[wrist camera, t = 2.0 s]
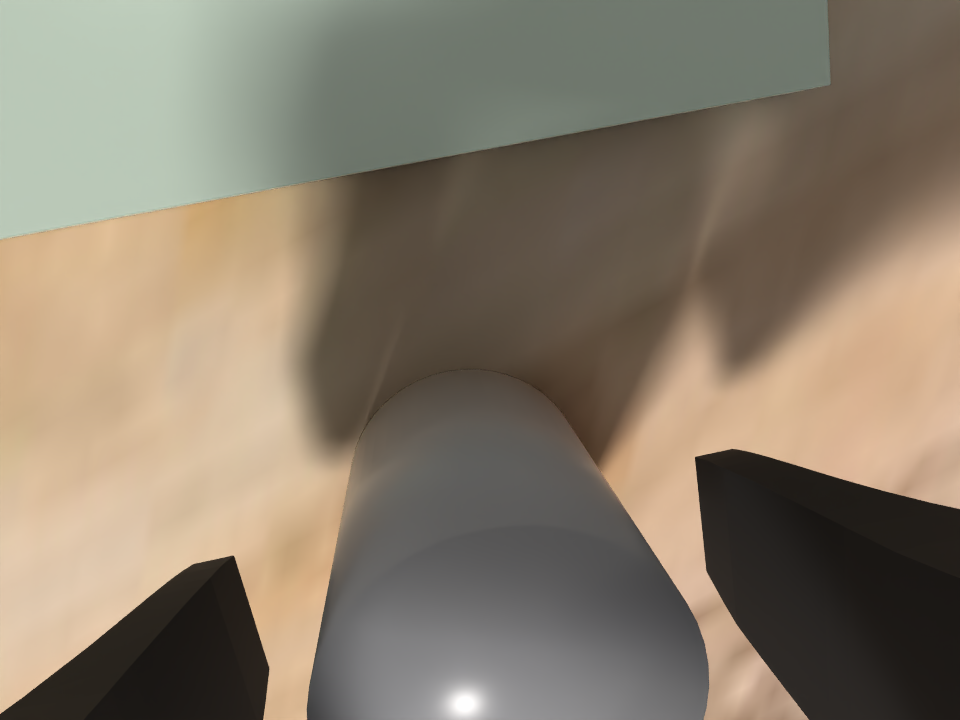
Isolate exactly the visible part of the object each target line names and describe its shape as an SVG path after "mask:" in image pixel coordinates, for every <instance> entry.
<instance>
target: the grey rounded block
mask: <svg viewBox="0 0 960 720" xmlns="http://www.w3.org/2000/svg"><path fill="white" fill-rule="evenodd" d="M708 691H709V668H708V659H707V654H706V649H705V643H704V640H703V637H702V635H701V632H700V629H699V626H698V623H697V621H696V619H695V617H694V616H693V614H692V612H691V610H690V608H689V606H688V605H687V603H686V601H685V600H684V598H683V597H682V595H681V594H680V592H679V590H678V589H677V587H676V586H675V584H674V583H673V581H672V580H671V578H670V577H669V575H668V574H667V572H666V571H665V569H664V568H663V566H662V565H661V563H660V561H659V560H658V558H657V557H656V555H655V554H654V552H653V551H652V549H651V548H650V546H649V545H648V543H647V542H646V540H645V539H644V537H643V536H642V534H641V533H640V531H639V529H638V528H637V526H636V525H635V523H634V522H633V520H632V519H631V517H630V516H629V514H628V513H627V511H626V510H625V508H624V507H623V505H622V504H621V502H620V501H619V499H618V497H617V496H616V494H615V493H614V491H613V490H612V488H611V487H610V485H609V484H608V482H607V481H606V479H605V478H604V476H603V475H602V473H601V472H600V470H599V468H598V467H597V465H596V464H595V462H594V461H593V459H592V458H591V456H590V455H589V453H588V452H587V450H586V449H585V447H584V446H583V444H582V443H581V441H580V440H579V438H578V436H577V435H576V433H575V432H574V430H573V429H572V427H571V426H570V424H569V423H568V421H567V420H566V418H565V417H564V416H563V414H562V413H561V412H560V410H559V409H558V408H557V406H556V405H555V404H554V403H553V402H552V401H551V400H550V399H549V398H548V397H547V396H545V395H544V394H543V393H541V392H540V391H539V390H537V389H536V388H534V387H533V386H531V385H529V384H527V383H525V382H524V381H522V380H519V379H517V378H514V377H512V376H509V375H506V374H502V373H498V372H494V371H487V370H479V369H461V370H454V371H447V372H443V373H439V374H435V375H431V376H429V377H426V378H424V379H421V380H419V381H416V382H414V383H413V384H411V385H409V386H407V387H406V388H404V389H402V390H401V391H399V392H398V393H397V394H395V395H394V396H393V397H391V398H390V399H389V400H388V401H387V402H386V403H385V404H384V405H383V406H382V407H381V408H380V409H379V410H378V411H377V412H376V413H375V415H374V416H373V417H372V418H371V420H370V421H369V422H368V424H367V426H366V428H365V429H364V431H363V433H362V434H361V437H360V439H359V442H358V444H357V446H356V449H355V453H354V457H353V461H352V465H351V470H350V476H349V481H348V486H347V491H346V497H345V502H344V507H343V512H342V518H341V523H340V528H339V533H338V538H337V544H336V549H335V554H334V559H333V565H332V570H331V575H330V580H329V586H328V591H327V596H326V601H325V607H324V612H323V617H322V622H321V628H320V633H319V638H318V643H317V649H316V654H315V659H314V664H313V670H312V675H311V680H310V685H309V694H308V703H307V720H703V719H704V715H705V711H706V707H707V699H708Z"/></svg>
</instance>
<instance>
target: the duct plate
mask: <svg viewBox="0 0 960 720" xmlns="http://www.w3.org/2000/svg"><path fill="white" fill-rule="evenodd" d="M828 85H831V81H830V55H829V29H828V2H827V0H0V240H2V239H7V238H13V237H18V236H24V235H29V234H34V233H40V232H45V231H51V230H56V229H61V228H67V227H72V226H77V225H83V224H88V223H94V222H99V221H104V220H110V219H115V218H121V217H126V216H131V215H137V214H142V213H148V212H153V211H158V210H164V209H169V208H175V207H180V206H185V205H191V204H196V203H202V202H207V201H212V200H218V199H223V198H228V197H234V196H239V195H245V194H250V193H255V192H261V191H266V190H272V189H277V188H282V187H288V186H293V185H299V184H304V183H309V182H315V181H320V180H326V179H331V178H336V177H342V176H347V175H353V174H358V173H363V172H369V171H374V170H379V169H385V168H390V167H396V166H401V165H406V164H412V163H417V162H423V161H428V160H433V159H439V158H444V157H450V156H455V155H460V154H466V153H471V152H477V151H482V150H487V149H493V148H498V147H504V146H509V145H514V144H520V143H525V142H530V141H536V140H541V139H547V138H552V137H557V136H563V135H568V134H574V133H579V132H584V131H590V130H595V129H601V128H606V127H611V126H617V125H622V124H628V123H633V122H638V121H644V120H649V119H655V118H660V117H665V116H671V115H676V114H681V113H687V112H692V111H698V110H703V109H708V108H714V107H719V106H725V105H730V104H735V103H741V102H746V101H752V100H757V99H762V98H768V97H773V96H779V95H784V94H789V93H795V92H800V91H804V90H809V89H814V88H818V87H823V86H828Z"/></svg>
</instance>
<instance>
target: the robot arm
mask: <svg viewBox="0 0 960 720" xmlns="http://www.w3.org/2000/svg"><path fill="white" fill-rule="evenodd" d="M695 462H696V472H697V482H698V492H699V502H700V512H701V521H702V531H703V541H704V551H705V561H706V570H707V573H708V575H709V576H710V578H711V580H712V582H713V584H714V586H715V587H716V589H717V591H718V593H719V595H720V596H721V598H722V600H723V602H724V604H725V605H726V607H727V609H728V610H729V612H730V614H731V615H732V617H733V619H734V621H735V622H736V624H737V625H738V627H739V628H740V630H741V631H742V632H743V634H744V635H745V636H746V638H747V639H748V640H749V642H750V643H751V644H752V646H753V647H754V648H755V650H756V651H757V652H758V654H759V655H760V656H761V658H762V659H763V660H764V662H765V663H766V664H767V665H768V667H769V668H770V669H771V671H772V672H773V673H774V675H775V676H776V677H777V678H778V680H779V681H780V682H781V684H782V685H783V686H784V688H785V689H786V690H787V691H788V693H789V694H790V695H791V697H792V698H793V699H794V701H795V702H796V703H797V704H798V706H799V707H800V708H801V710H802V711H803V712H804V714H805V715H806V716H807V717H808V719H809V720H960V509H957V508H952V507H947V506H943V505H938V504H933V503H929V502H925V501H921V500H917V499H913V498H909V497H905V496H901V495H897V494H893V493H889V492H885V491H881V490H878V489H874V488H871V487H867V486H863V485H860V484H856V483H853V482H849V481H846V480H842V479H839V478H836V477H832V476H829V475H826V474H822V473H819V472H816V471H813V470H809V469H806V468H803V467H799V466H796V465H793V464H790V463H786V462H783V461H780V460H776V459H773V458H769V457H766V456H762V455H759V454H755V453H751V452H747V451H742V450H736V449H730V450H726V451H721V452H716V453H712V454H707V455H702V456H698V457H695ZM268 676H269V666H268V663H267V660H266V656H265V653H264V650H263V647H262V644H261V640H260V637H259V634H258V631H257V628H256V624H255V621H254V618H253V615H252V612H251V608H250V605H249V602H248V599H247V596H246V592H245V589H244V586H243V583H242V580H241V576H240V573H239V570H238V567H237V564H236V560H235V557H234V556H229V557H225V558H220V559H215V560H211V561H206V562H201V563H197V564H193V565H191V566H190V567H188V568H187V569H185V570H183V571H182V572H181V573H179V574H178V575H176V576H175V577H174V578H172V579H171V580H170V581H169V582H167V583H166V584H165V585H163V586H162V587H161V588H160V589H158V590H157V591H156V592H155V593H153V594H152V595H151V596H150V597H149V598H147V599H146V600H145V601H144V602H142V603H141V604H140V605H139V606H138V607H136V608H135V609H134V610H133V611H132V612H130V613H129V614H128V615H127V616H125V617H124V618H123V619H122V620H121V621H119V622H118V623H117V624H116V625H115V626H113V627H112V628H111V629H110V630H108V631H107V632H106V633H105V634H104V635H102V636H101V637H100V638H99V639H97V640H96V641H95V642H94V643H93V644H91V645H90V646H89V647H88V648H86V649H85V650H84V651H83V652H81V653H80V654H79V655H77V656H76V657H75V658H73V659H72V660H71V661H70V662H68V663H67V664H66V665H64V666H63V667H62V668H61V669H59V670H58V671H57V672H55V673H54V674H53V675H51V676H50V677H49V678H48V679H46V680H45V681H44V682H42V683H41V684H40V685H38V686H37V687H36V688H35V689H33V690H32V691H31V692H29V693H28V694H27V695H26V696H24V697H23V698H22V699H20V700H19V701H17V702H16V703H15V704H13V705H12V706H11V707H9V708H8V709H6V710H5V711H4V712H2V713H1V714H0V720H263V716H264V709H265V702H266V693H267V685H268Z"/></svg>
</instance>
